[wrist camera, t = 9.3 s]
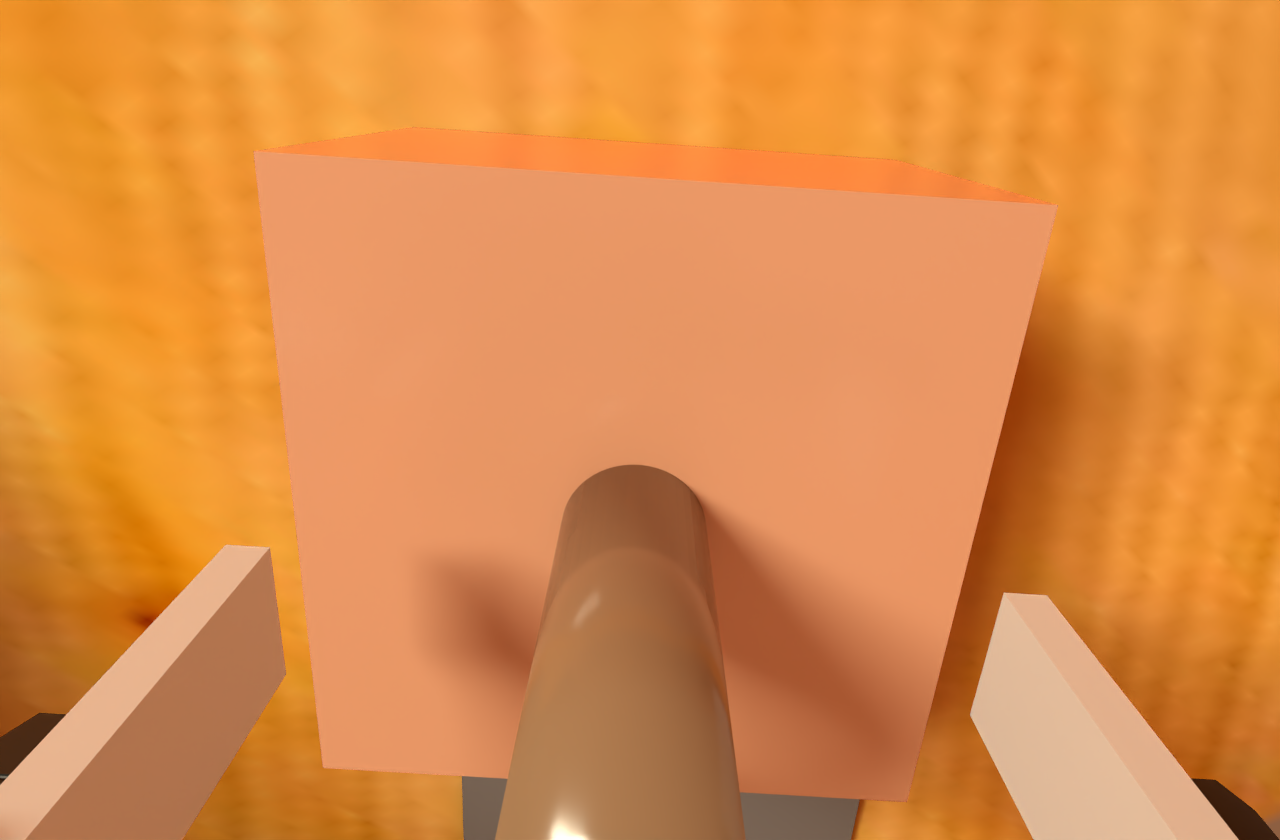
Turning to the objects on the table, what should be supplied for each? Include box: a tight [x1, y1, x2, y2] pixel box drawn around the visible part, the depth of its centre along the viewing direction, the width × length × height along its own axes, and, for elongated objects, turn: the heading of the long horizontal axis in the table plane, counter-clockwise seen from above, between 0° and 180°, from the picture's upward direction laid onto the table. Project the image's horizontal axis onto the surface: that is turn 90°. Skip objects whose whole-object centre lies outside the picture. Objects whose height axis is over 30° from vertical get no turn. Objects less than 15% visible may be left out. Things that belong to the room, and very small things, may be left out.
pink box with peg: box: [254, 127, 1058, 840], centre depth 19 cm, size 15×15×20 cm
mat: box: [462, 776, 860, 840], centre depth 34 cm, size 17×17×1 cm
